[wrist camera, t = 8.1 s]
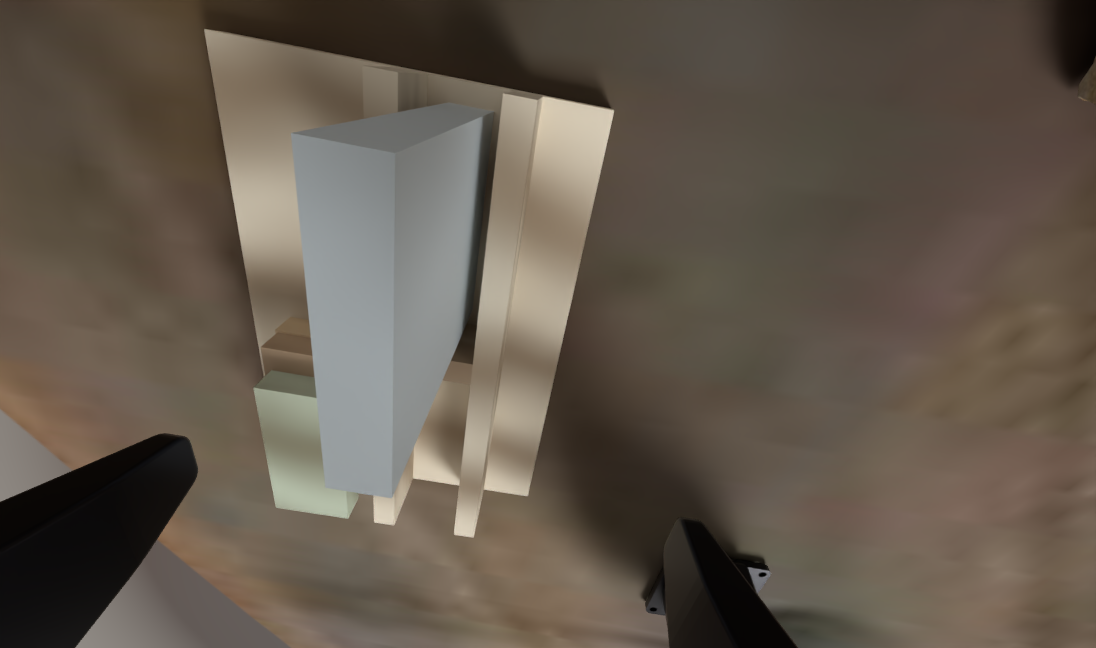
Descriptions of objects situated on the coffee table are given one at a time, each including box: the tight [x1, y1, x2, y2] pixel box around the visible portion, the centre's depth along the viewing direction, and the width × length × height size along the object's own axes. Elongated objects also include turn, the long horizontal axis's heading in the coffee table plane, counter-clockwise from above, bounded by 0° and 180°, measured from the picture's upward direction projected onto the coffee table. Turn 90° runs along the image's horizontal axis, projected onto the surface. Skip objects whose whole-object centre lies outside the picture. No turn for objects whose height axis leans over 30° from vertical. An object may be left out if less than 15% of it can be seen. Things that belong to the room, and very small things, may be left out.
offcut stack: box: [254, 317, 359, 519], centre depth 21 cm, size 9×4×4 cm, turn 170°
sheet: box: [291, 102, 494, 498], centre depth 13 cm, size 8×2×10 cm, turn 170°
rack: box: [204, 29, 614, 538], centre depth 19 cm, size 20×14×4 cm
